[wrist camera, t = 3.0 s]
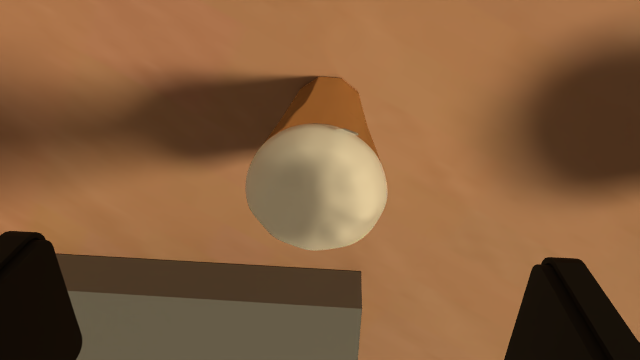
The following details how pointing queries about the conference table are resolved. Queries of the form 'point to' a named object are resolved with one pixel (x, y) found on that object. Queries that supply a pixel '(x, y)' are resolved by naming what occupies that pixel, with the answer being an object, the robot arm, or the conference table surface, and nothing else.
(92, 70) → the conference table surface
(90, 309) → the socket plate
